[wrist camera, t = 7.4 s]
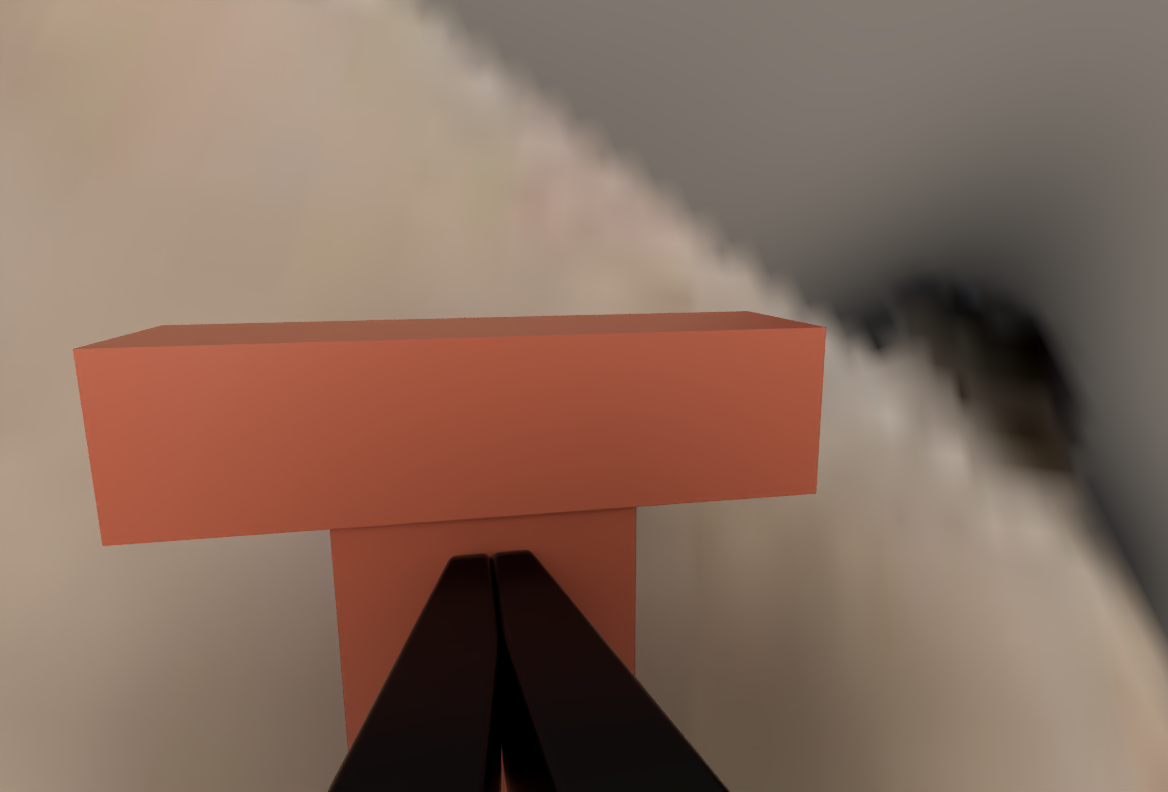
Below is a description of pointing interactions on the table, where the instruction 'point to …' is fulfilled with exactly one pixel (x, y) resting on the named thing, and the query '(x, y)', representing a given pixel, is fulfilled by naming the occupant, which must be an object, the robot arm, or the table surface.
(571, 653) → the robot arm
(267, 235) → the table surface
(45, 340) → the table surface
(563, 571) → the lever
